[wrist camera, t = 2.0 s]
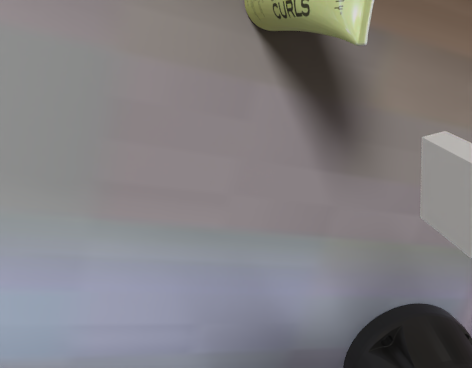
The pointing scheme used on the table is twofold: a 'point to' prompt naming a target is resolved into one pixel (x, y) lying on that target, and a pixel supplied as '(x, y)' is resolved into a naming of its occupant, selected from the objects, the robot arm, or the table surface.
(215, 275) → the table surface
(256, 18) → the tube
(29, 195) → the table surface
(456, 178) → the robot arm
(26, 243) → the table surface
